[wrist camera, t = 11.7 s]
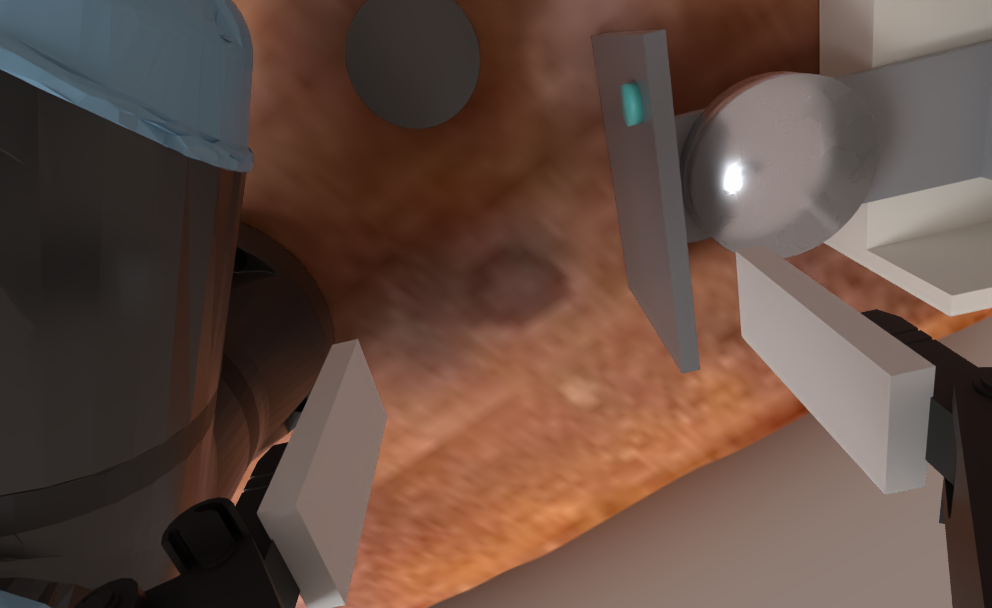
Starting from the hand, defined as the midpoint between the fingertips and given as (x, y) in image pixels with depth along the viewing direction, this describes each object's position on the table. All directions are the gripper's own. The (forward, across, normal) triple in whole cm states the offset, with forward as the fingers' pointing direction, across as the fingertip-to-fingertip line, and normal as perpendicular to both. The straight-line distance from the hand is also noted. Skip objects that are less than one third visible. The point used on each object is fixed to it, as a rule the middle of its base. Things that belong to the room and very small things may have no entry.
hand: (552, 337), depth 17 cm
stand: (+18, -3, +8) cm, 20 cm away
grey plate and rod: (+17, +14, 0) cm, 22 cm away
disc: (+12, +12, 0) cm, 17 cm away
